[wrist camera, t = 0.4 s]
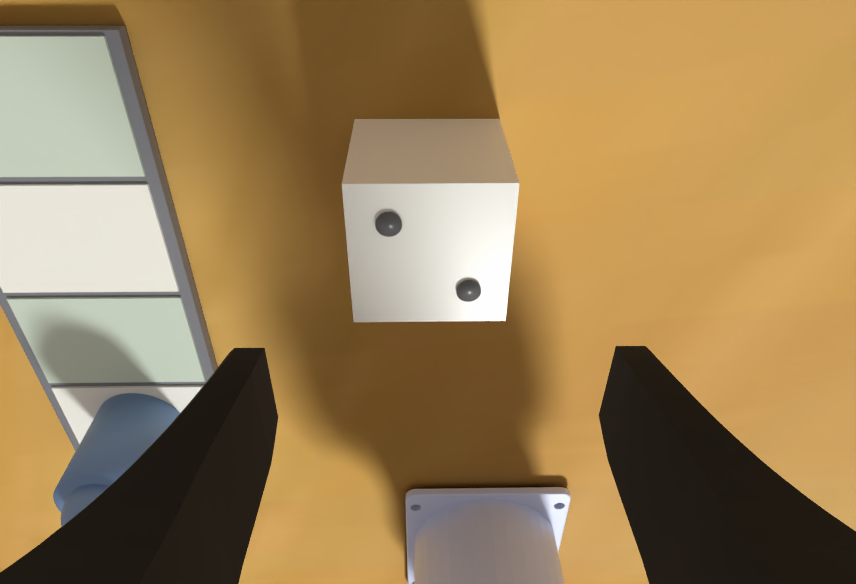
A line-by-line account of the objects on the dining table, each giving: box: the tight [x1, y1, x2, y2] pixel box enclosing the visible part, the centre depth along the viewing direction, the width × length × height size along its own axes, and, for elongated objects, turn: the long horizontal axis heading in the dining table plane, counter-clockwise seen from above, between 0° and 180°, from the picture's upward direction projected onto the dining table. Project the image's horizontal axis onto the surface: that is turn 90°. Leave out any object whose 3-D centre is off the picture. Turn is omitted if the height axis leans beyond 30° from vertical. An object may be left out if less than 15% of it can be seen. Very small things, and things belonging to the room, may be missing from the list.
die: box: [342, 119, 519, 322], centre depth 19 cm, size 4×5×5 cm
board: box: [0, 25, 218, 451], centre depth 22 cm, size 18×7×1 cm, turn 0°
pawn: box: [53, 393, 180, 526], centre depth 24 cm, size 4×4×6 cm
